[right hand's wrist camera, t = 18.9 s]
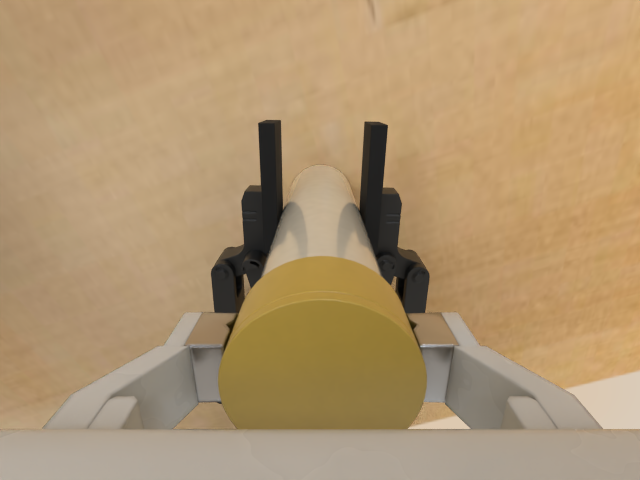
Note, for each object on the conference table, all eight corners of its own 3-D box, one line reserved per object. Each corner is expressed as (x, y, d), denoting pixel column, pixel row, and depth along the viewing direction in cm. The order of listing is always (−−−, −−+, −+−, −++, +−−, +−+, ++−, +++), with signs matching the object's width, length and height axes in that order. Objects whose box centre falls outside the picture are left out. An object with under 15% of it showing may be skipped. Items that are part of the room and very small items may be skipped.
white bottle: (362, 181, 25) (446, 338, 9) (334, 234, 27) (359, 458, 10) (305, 153, 25) (274, 267, 8) (280, 209, 26) (208, 406, 9)
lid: (300, 220, 9) (294, 256, 7) (440, 315, 10) (472, 370, 8) (207, 346, 11) (179, 408, 9) (339, 418, 12) (343, 489, 10)
